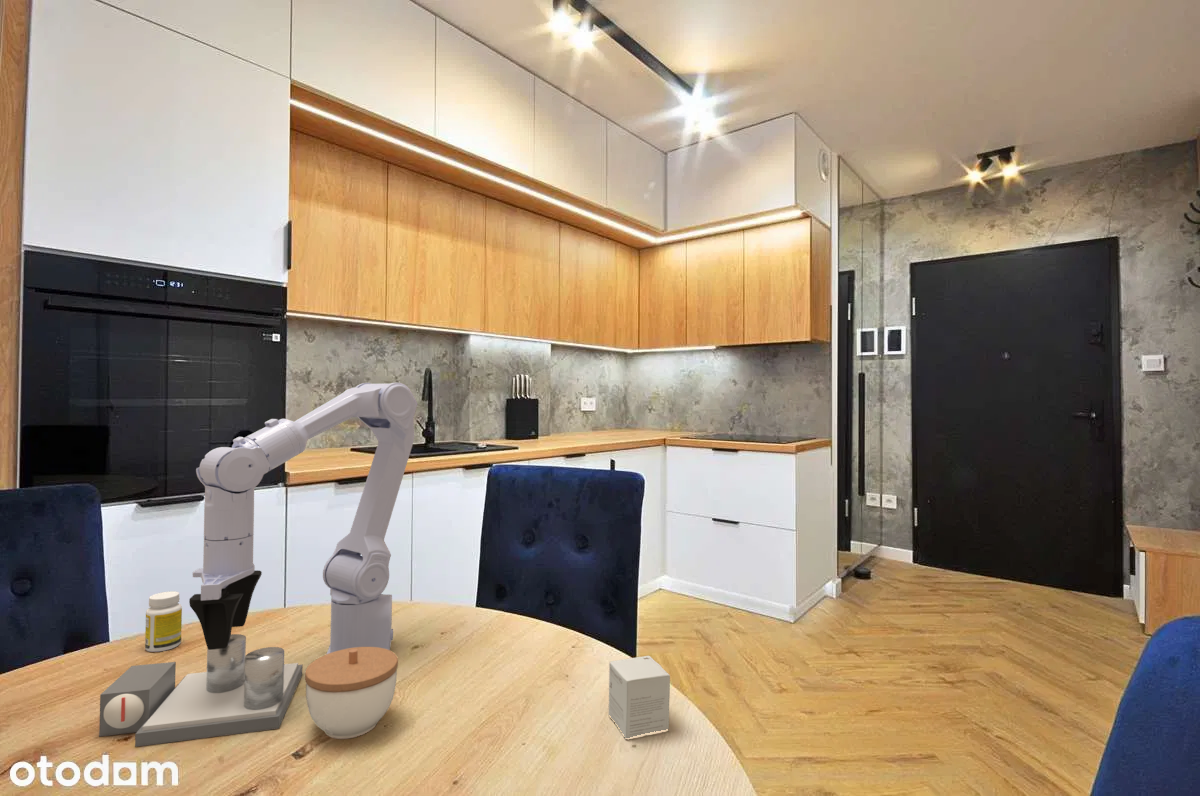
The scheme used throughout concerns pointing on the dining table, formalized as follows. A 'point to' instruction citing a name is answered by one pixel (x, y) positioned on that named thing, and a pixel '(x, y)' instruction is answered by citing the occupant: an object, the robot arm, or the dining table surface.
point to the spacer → (226, 666)
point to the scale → (183, 706)
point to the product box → (639, 695)
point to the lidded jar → (350, 690)
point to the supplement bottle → (163, 622)
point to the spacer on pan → (263, 678)
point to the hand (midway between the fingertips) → (227, 636)
